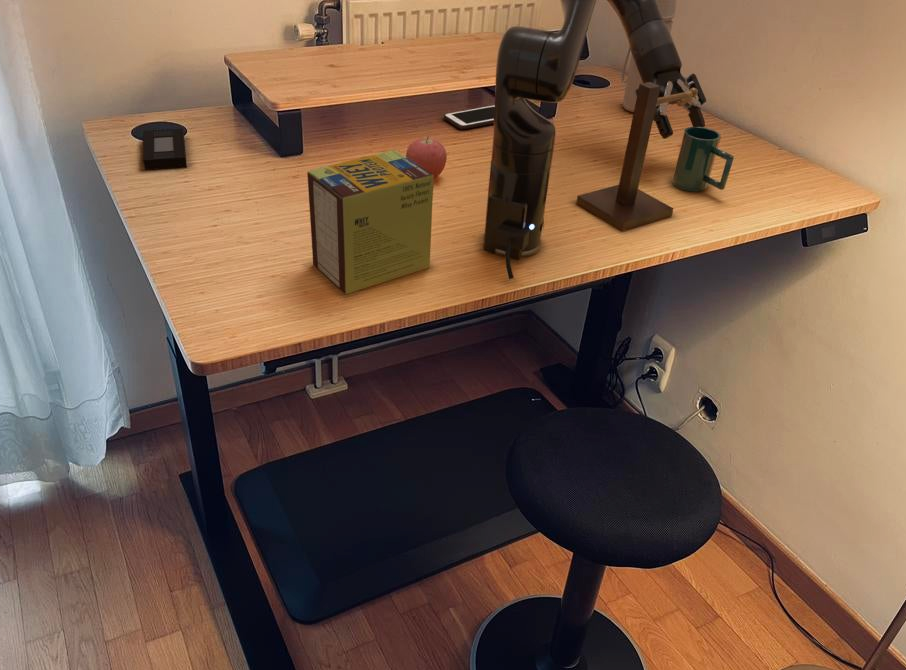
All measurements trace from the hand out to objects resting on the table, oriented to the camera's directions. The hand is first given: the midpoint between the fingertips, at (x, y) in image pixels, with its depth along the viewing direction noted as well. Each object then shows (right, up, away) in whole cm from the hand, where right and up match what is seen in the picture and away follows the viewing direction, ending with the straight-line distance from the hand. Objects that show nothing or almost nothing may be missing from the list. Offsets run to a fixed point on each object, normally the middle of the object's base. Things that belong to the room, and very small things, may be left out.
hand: (684, 132), depth 147 cm
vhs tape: (-99, -3, +4) cm, 99 cm away
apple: (-49, -9, 0) cm, 50 cm away
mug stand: (-11, -15, -5) cm, 19 cm away
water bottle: (-1, +17, +35) cm, 38 cm away
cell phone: (-37, +11, +25) cm, 46 cm away
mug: (+3, -10, +1) cm, 11 cm away
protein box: (-57, -29, -25) cm, 69 cm away
